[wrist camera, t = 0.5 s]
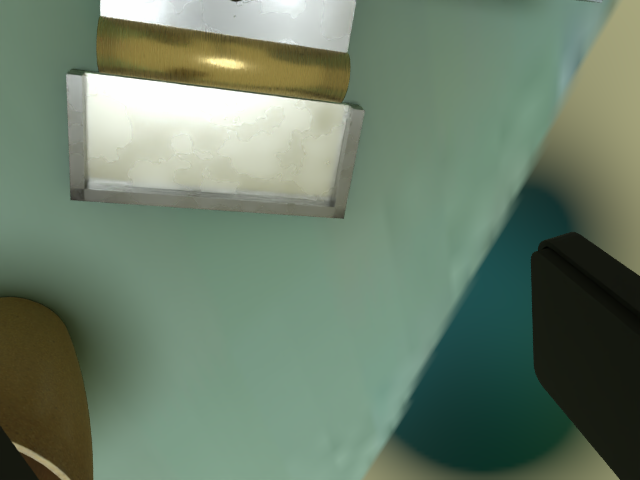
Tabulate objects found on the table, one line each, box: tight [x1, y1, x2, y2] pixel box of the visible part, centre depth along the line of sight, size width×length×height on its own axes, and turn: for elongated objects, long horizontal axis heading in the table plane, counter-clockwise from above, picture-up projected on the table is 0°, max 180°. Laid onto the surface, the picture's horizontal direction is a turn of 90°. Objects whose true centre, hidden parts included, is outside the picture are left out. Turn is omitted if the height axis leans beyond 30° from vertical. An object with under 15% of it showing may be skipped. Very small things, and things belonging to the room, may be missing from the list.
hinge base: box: [66, 0, 365, 219], centre depth 32 cm, size 18×19×3 cm
